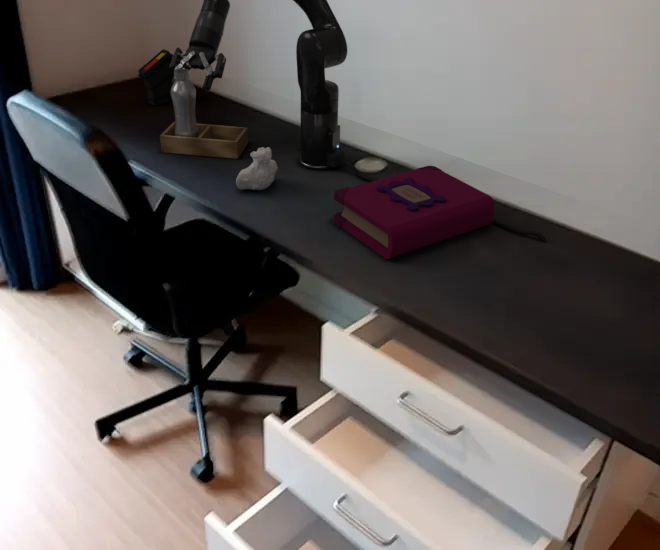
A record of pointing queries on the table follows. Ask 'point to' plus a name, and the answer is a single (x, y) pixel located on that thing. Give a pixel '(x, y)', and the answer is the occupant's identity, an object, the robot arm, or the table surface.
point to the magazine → (158, 78)
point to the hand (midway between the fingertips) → (190, 88)
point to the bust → (258, 171)
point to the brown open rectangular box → (207, 141)
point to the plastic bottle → (184, 105)
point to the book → (411, 210)
